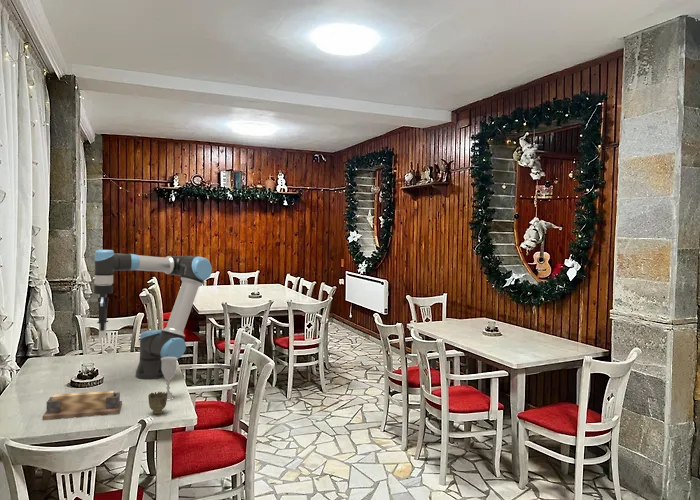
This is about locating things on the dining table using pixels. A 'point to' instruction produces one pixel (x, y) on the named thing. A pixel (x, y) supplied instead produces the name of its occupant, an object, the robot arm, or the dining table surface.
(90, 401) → the slat
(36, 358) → the dining table surface
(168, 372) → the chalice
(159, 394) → the cup
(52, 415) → the cradle
